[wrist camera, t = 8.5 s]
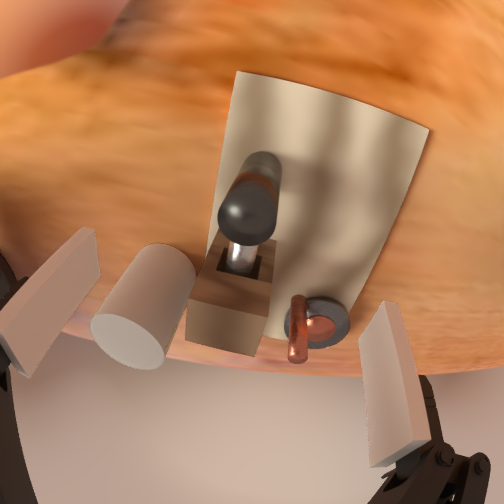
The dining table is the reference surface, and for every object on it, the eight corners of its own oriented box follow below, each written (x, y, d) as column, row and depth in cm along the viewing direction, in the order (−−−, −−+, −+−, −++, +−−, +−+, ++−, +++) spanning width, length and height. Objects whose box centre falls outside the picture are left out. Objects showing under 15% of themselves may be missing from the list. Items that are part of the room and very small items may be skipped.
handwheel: (264, 300, 35) (255, 363, 27) (327, 274, 32) (334, 339, 24) (301, 348, 39) (300, 407, 31) (357, 329, 36) (366, 389, 28)
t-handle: (221, 280, 34) (198, 349, 26) (246, 147, 26) (221, 186, 17) (252, 287, 34) (238, 359, 26) (286, 156, 26) (282, 200, 17)
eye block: (199, 315, 40) (173, 389, 30) (238, 71, 23) (200, 66, 13) (327, 342, 40) (331, 419, 30) (425, 127, 23) (495, 165, 13)
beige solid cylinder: (157, 301, 39) (123, 371, 29) (124, 254, 36) (76, 319, 26) (208, 289, 37) (180, 367, 27) (175, 234, 33) (129, 307, 23)
